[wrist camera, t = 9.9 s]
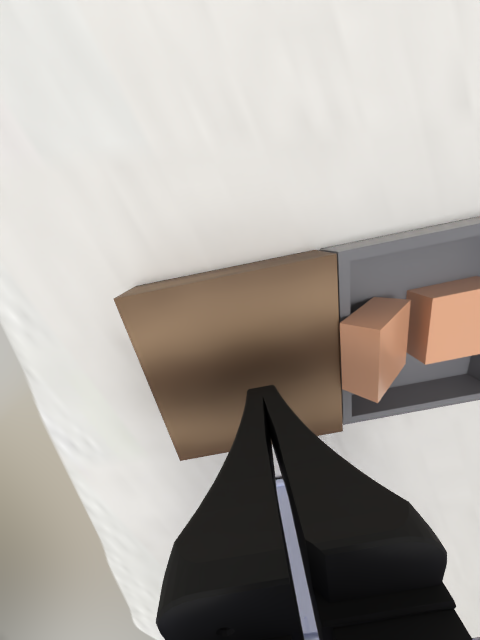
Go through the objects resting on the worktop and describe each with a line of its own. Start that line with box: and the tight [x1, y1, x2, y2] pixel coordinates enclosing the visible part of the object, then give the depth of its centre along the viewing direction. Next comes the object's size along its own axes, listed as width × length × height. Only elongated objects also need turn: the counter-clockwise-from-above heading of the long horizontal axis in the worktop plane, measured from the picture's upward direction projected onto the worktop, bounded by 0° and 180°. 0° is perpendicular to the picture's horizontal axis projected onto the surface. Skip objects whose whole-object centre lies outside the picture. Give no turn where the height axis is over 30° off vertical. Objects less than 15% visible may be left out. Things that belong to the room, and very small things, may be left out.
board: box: [114, 250, 343, 461], centre depth 15 cm, size 12×12×3 cm
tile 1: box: [406, 276, 480, 365], centre depth 14 cm, size 4×4×2 cm
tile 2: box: [340, 297, 411, 403], centre depth 14 cm, size 4×4×2 cm
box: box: [320, 217, 480, 425], centre depth 15 cm, size 12×11×2 cm
